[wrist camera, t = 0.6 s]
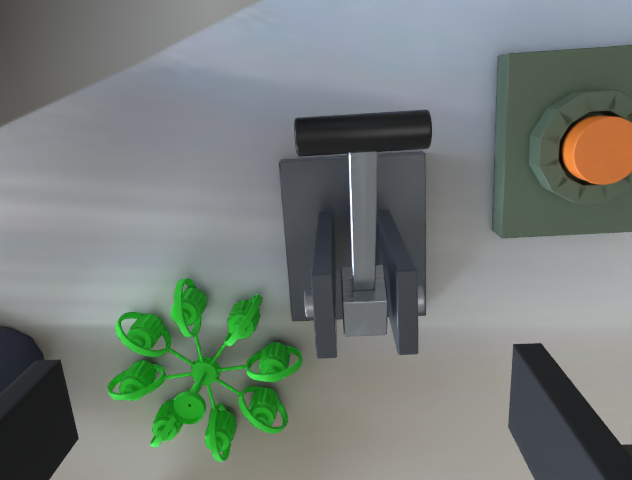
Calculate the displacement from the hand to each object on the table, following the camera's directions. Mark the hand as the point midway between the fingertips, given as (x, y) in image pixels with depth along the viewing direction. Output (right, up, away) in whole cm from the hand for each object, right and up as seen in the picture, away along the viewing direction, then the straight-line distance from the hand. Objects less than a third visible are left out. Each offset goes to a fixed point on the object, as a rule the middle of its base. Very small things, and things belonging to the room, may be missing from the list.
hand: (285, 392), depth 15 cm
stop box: (+18, +11, +21) cm, 30 cm away
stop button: (+18, +10, +17) cm, 27 cm away
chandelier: (-8, -5, +26) cm, 28 cm away
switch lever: (+3, +5, +9) cm, 11 cm away
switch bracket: (+4, +5, +23) cm, 24 cm away
